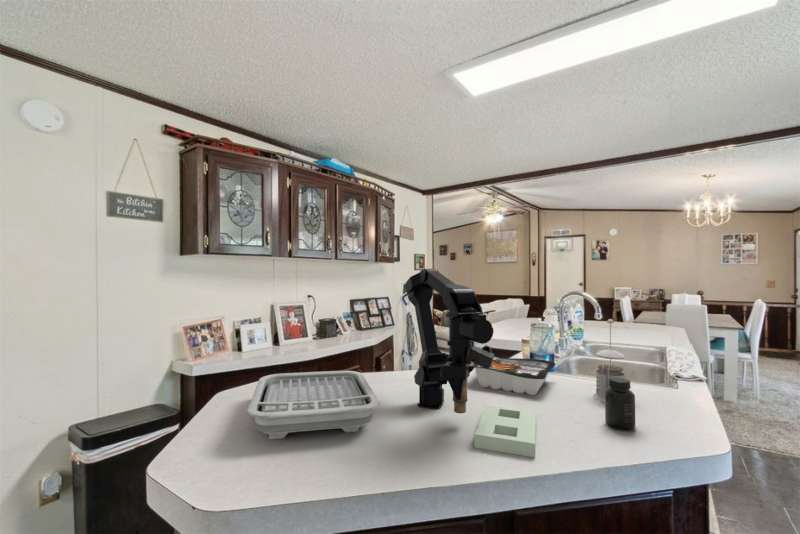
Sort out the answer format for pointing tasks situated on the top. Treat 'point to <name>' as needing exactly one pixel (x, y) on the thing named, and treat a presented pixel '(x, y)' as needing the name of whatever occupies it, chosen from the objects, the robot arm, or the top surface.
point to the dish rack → (311, 402)
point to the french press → (607, 370)
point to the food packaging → (514, 374)
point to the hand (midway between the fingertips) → (460, 397)
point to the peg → (461, 404)
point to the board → (507, 430)
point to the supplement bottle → (620, 405)
